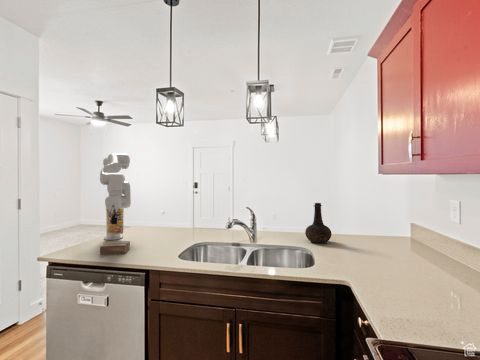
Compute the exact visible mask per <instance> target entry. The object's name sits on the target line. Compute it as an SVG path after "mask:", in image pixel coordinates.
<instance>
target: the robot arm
mask: <svg viewBox="0 0 480 360" xmlns="http://www.w3.org/2000/svg"><path fill="white" fill-rule="evenodd" d="M130 161H131V159H130V156H129V155H128V154H127V153H110V154H108V155H107V157H105V158H103V160H102V163H103V167H102V168H101V170H100V172H99V182H100V184H101V185H103V186H106V188H107V193H108V196H107V197H106V198H105V199H104V203H105V205H104V206H105V211H106V212H105V214H106V224H105V225H106V234H105V236H104V237H103V239H104V240H106V241H114V240H115V241H116V240H121V239H123V238H124V237H123V234H107V209H109V213H111V224H117V212H118V210H119V209H120V208H124V209H129V208H130V207H131V205H132V204H131V203H132V201H131V199H132V198H131V195H132V194H131V185H130V182H128V181H126V179H125V175H124V174H123V173H119V172H120V171H121V170H127V169H129V166H130ZM111 209H112V210H111ZM114 211H115V212H114Z"/></svg>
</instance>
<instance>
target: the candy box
mask: <svg viewBox="0 0 480 360" xmlns="http://www.w3.org/2000/svg"><path fill="white" fill-rule="evenodd" d="M124 209H125V208H120V209H119V210H118V212H117V224H111V213H109V209H107V234H120V235H123V233H124V211H125V210H124ZM111 210H112V209H111ZM114 212H115V211H114Z"/></svg>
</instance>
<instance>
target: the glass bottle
mask: <svg viewBox="0 0 480 360" xmlns="http://www.w3.org/2000/svg"><path fill="white" fill-rule="evenodd" d="M313 207H314V214H313V216H314V217H313V221H312V224H311V225H308V226H307V227H306V228H305V237H306V238H307V240H308V241H310V242H311V243H314V244H325V243H327V242H329V241H330V240H331V238H332V231H331V229H330V227H328V226H326V225H325V224H324V221H323V217H322V216H323V215H322V203H321V202H315V203H314V205H313Z"/></svg>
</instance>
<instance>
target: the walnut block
mask: <svg viewBox="0 0 480 360" xmlns="http://www.w3.org/2000/svg"><path fill="white" fill-rule="evenodd" d="M130 245H131V241H130V240H122V241H121V240H119V241H116V240H115V241H114V240H112V241H106V242H103V244H101V245H100V246H99V255H100V256H105V255H126V253H128V251H129V250H130V249H131V247H130Z"/></svg>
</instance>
